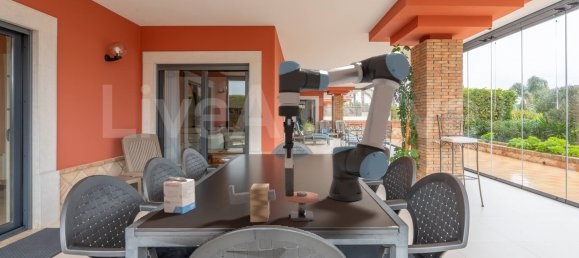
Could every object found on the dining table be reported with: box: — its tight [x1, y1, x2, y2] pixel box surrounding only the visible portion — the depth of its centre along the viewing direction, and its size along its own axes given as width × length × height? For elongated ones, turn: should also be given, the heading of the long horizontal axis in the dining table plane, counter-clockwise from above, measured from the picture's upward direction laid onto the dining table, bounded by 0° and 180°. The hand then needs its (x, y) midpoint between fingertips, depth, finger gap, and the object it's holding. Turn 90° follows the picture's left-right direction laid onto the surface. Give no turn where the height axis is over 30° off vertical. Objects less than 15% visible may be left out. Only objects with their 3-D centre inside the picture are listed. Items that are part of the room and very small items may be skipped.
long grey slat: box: [227, 184, 276, 206], centre depth 116 cm, size 16×3×6 cm, turn 90°
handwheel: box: [284, 164, 320, 204], centre depth 116 cm, size 12×12×12 cm
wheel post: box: [290, 203, 315, 222], centre depth 117 cm, size 8×8×6 cm
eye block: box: [249, 183, 270, 223], centre depth 116 cm, size 6×10×11 cm, turn 1°
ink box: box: [163, 176, 196, 215], centre depth 126 cm, size 9×8×13 cm
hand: (288, 165), depth 116 cm, fingers open, 13 cm apart
